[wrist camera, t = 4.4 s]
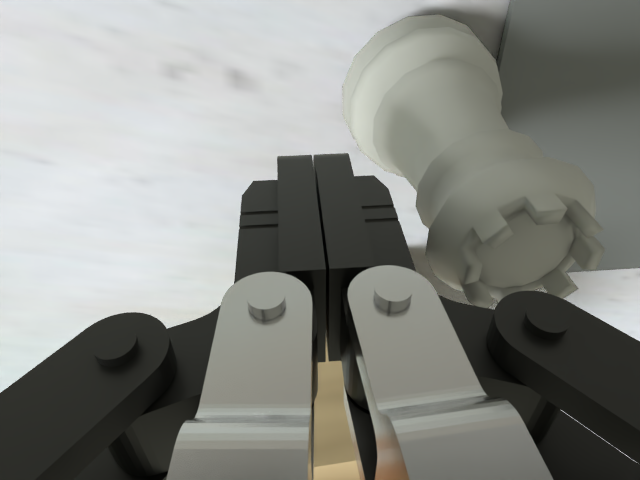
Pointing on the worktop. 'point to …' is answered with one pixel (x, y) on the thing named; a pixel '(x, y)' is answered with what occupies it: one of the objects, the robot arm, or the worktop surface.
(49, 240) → the worktop surface
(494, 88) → the rook chess piece
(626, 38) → the mat
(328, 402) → the oak block
